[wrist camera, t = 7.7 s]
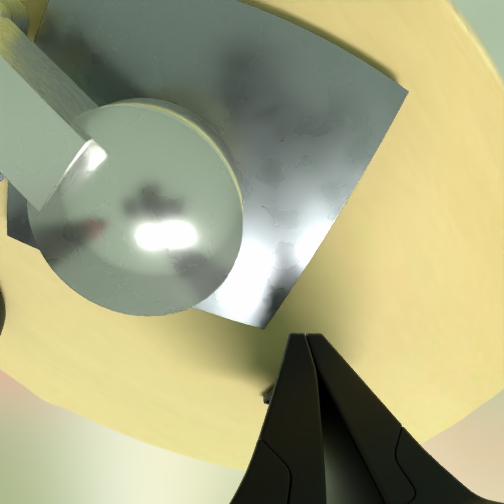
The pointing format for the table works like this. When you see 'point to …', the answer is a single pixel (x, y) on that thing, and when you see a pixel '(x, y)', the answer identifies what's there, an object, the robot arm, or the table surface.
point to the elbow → (116, 185)
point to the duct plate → (236, 118)
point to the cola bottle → (2, 313)
